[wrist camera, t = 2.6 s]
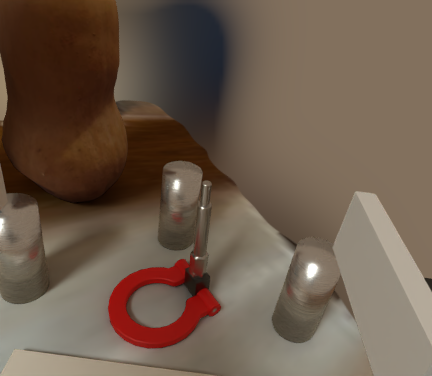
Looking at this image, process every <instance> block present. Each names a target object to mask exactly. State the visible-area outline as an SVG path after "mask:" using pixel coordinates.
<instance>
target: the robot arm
mask: <svg viewBox="0 0 432 376" xmlns="http://www.w3.org/2000/svg"><path fill="white" fill-rule="evenodd" d="M7 202H8V200H7V195H6V190H5V185H4V180H3V175H2V170H1V165H0V210H1V209H2V208H3V207H4V206H5V204H6V203H7ZM333 251H334V254H335V257H336V260H337V263H338V266H339V269H340V272H341V275H342V279H343V282H344V285H345V288H346V291H347V294H348V297H349V300H350V304H351V307H352V310H353V312H354V316H355V319H356V322H357V325H358V328H359V332H360V335H361V338H362V341H363V344H364V347H365V350H366V353H367V356H368V360H369V363H370V366H371V369H372V372H373V375H374V376H432V279H429V278H424V277H423V276H422V274H421V272H420V270H419V269H418V267H417V265H416V264H415V262H414V260H413V258H412V256H411V255H410V253H409V251H408V250H407V248H406V246H405V244H404V243H403V241H402V239H401V237H400V236H399V234H398V232H397V230H396V229H395V227H394V225H393V223H392V222H391V220H390V218H389V216H388V215H387V213H386V211H385V209H384V208H383V206H382V204H381V203H380V201H379V199H378V197H377V195H376V194H372V193H365V192H358V191H356V192H355V193H354V196H353V198H352V201H351V203H350V206H349V208H348V211H347V213H346V215H345V218H344V221H343V223H342V225H341V228H340V230H339V233H338V235H337V238H336V240H335V243H334V245H333Z"/></svg>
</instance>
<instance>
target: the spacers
mask: <svg viewBox="0 0 432 376" xmlns="http://www.w3.org/2000/svg"><path fill="white" fill-rule="evenodd" d="M202 174H203V172H202V170H201V168H200V167H199V166H197V165H195V164H193V163H190V162H186V161H174V162H170V163H168V164H166V165H165V166H164V168H163V177H162V190H161V203H160V216H159V229H158V241H159V243H160V244H161V245H162V246H163V247H165V248H167V249H171V250H183V249H186V248H188V247H189V246H190V245H191V244H192V242H193V236H194V229H195V222H196V215H197V204H198V202H199V195H200V188H201V181H202ZM6 195H7V200H8V202H7V203H6V204H5V206H4V207H3V208H2V209H1V210H0V294H1V296H2V298H3V299H4V300H5V301H7V302H9V303H13V304H23V303H28V302H31V301H34V300H36V299H37V298H39V297H40V296H42V295H43V294H44V293H45V292H46V290H47V288H48V286H49V278H48V271H47V264H46V257H45V251H44V244H43V237H42V230H41V224H40V217H39V210H38V204H37V201H36V200H35V199H34V198H33V197H32V196H29V195H27V194H22V193H9V194H6ZM333 245H334V244H333V243H332V242H330V241H327V240H325V239H322V238H318V237H307V238H304V239H302V240H301V241H299V243H298V245H297V247H296V250H295V253H294V256H293V259H292V262H291V264H290V267H289V270H288V273H287V276H286V279H285V281H284V284H283V287H282V290H281V293H280V296H279V298H278V301H277V304H276V307H275V310H274V313H273V315H272V324H273V327H274V329H275V330H276V332H277V333H278V334H279V335H280V336H281V337H283V338H284V339H286V340H288V341H290V342H294V343H303V342H306V341H308V340H310V339H311V338H312V336H313V334H314V332H315V330H316V328H317V325H318V323H319V321H320V319H321V317H322V315H323V313H324V310H325V308H326V306H327V304H328V302H329V300H330V297H331V295H332V293H333V291H334V289H335V287H336V285H337V282H338V280H339V278H340V276H341V272H340V269H339V266H338V263H337V260H336V257H335V254H334V251H333Z"/></svg>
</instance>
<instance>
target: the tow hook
mask: <svg viewBox="0 0 432 376" xmlns="http://www.w3.org/2000/svg"><path fill="white" fill-rule="evenodd" d="M211 185H212V183H211V182H210V181H203V182H202V188H201V199H200V201H199V202H198V204H197V215H196V226H195V238H194V249H193V251H192V252H191V254H190V265H189V264H188V263H187V261H186V260H185V259H180V260H179V261H177V262H176V263H175V265H174V266H173V267H171V268H164V267H152V268H147V269H142V270H139V271H137V272H134V273H132V274H130V275H129V276H127V277H126V278H124V279H123V280H121V282H120V283H119V284H118V285H117V286H116V287H115V288H114V290H113V292H112V294H111V296H110V300H109V306H108V311H109V317H110V322H111V324H112V326H113V328H114V330H115V332H116V333H117V334H118V335H119V336H120V337H122V338H123V339H124V340H125V341H127V342H129V343H131V344H133V345H135V346H140V347H144V348H163V347H166V346H170V345H173V344H176V343H177V342H179V341H181V340H183V339H184V338H186V337H187V336H188V335H189V334H190V333H191V332H192V331H193V330H194V329H195V327H196V326H197V324H198V322H199V320H200V318H202V317H204V316H206V315H209V316H214V315H215V314H217V313H218V312H219V311H220V309H221V306H220V304H219V303H218V302H217V300H216V299H215V298H214V296H213V295H212V294H211V293H210V291H209V283H210V276H209V275H208V274H207V264H208V256H209V255H208V253H207V251H206V250H207V242H208V233H209V225H210V216H211V207H212V204H211V202H210V194H211ZM151 283H164V284H168V285H171V286H178V285H180V284H183V283H184V284H185V285H186V287H187V288H188V290H189V291H190V292H191V294H192V295H193V297H191V298H189V299H187V301H186V307H185V311H184V312H183V314H182V316H181V317H180V318H179V319H178V320H177V321H175V322H174V323H172V324H170V325H168V326H164V327H161V328H149V327H144V326H141V325H139V324H137V323H136V322H134V321H133V320H132V319H131V318H130V316H129V315H128V313H127V310H126V304H127V301H128V299H129V297H130V296H131V295H132V293H133V292H134V291H136V290H137V289H138V288H140V287H142V286H144V285H147V284H151Z"/></svg>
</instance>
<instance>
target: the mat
mask: <svg viewBox="0 0 432 376" xmlns="http://www.w3.org/2000/svg"><path fill="white" fill-rule="evenodd" d="M0 376H215V375H208V374H200V373H193V372H185V371H177V370H170V369H162V368H155V367H147V366H140V365H132V364H124V363H117V362H109V361H102V360H94V359H86V358H79V357H71V356H64V355H56V354H49V353H41V352H33V351H26V350H18V349H14V351H13V353H12V355H11V357H10V358H9V360H8V362H7V364H6V366H5V367H4V369H3V371H2V373H1V374H0Z"/></svg>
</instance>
